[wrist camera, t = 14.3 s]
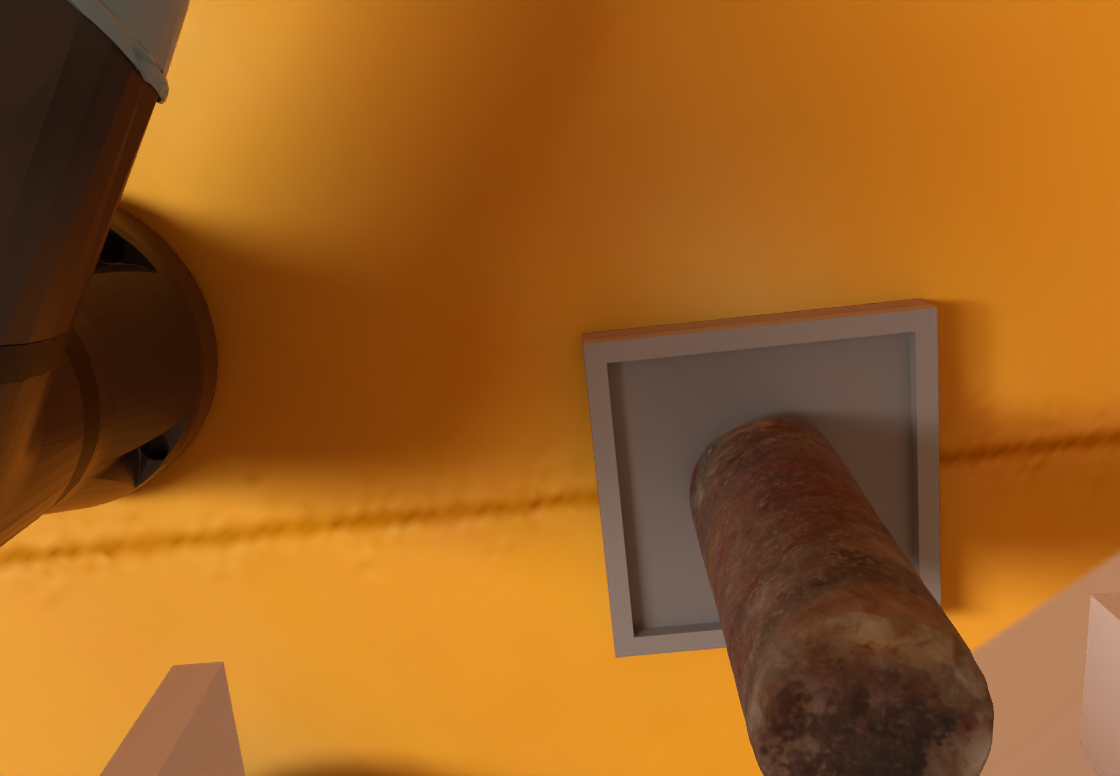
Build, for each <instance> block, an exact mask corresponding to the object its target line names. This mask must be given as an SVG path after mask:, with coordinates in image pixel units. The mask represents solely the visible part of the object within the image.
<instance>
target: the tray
mask: <svg viewBox="0 0 1120 776" xmlns="http://www.w3.org/2000/svg"><path fill="white" fill-rule="evenodd" d="M582 341H583V352H584V362H585V371H586V381H587V390H588V400H589V409H590V419H591V428H592V438H593V447H594V457H595V466H596V476H597V485H598V495H599V504H600V514H601V523H602V533H603V542H604V552H605V561H606V571H607V580H608V590H609V599H610V609H611V618H612V628H613V637H614V647H615V656H616V657H626V656H637V655H648V654H659V653H670V652H681V651H692V650H703V649H714V648H725V647H726V643H725V639H724V635H723V631H722V627H721V624H720V619H719V615H718V611H717V608H716V604H715V601H714V596H713V592H712V589H711V586H710V582H709V579H708V575H707V571H706V567H705V563H704V560H703V557H702V553H701V550H700V546H699V542H698V538H697V533H696V529H695V525H694V522H693V517H692V512H691V509H690V491H689V489H690V483H691V476H692V472H693V470H694V467H695V464H696V462H697V461H698V459H699V457H700V455H701V453H702V451H703V450H704V449H705V448H706V447H707V446H708V444H709V443H710V442H712V441H713V440H714V439H715V438H717V437H718V436H721V435H723V434H724V433H725V432H727V431H729V430H730V429H732V428H734V427H737V426H739V425H742V424H745V423H749V422H752V421H754V420H757V419H760V418H765V417H788V418H793V419H796V420H798V421H800V422H803V423H805V424H808V425H810V426H812V427H814V428H815V429H816V430H817V431H818V432H820V433H821V434H822V435H823V436H824V437H825V438H826V439H827V441H828V442H829V443H830V444H831V445H832V447H833V448H834V449H835V451H836V452H837V454H838V455H839V457H840V458H841V459H842V461H843V462H844V464H845V465H846V467H847V468H848V470H849V471H850V473H851V474H852V476H853V477H854V479H855V480H856V482H857V483H858V485H859V487H860V488H861V490H862V491H863V493H864V495H865V496H866V498H867V499H868V501H869V502H870V504H871V505H872V507H873V508H874V510H875V512H876V513H877V515H878V517H879V518H880V520H881V521H882V522H883V524H884V525H885V526H886V528H887V529H888V530H889V532H890V533H891V535H892V536H893V538H894V539H895V541H896V543H897V544H898V546H899V547H900V549H901V550H902V551H903V552H904V554H905V555H906V557H907V558H908V559H909V561H910V562H911V564H912V565H913V567H914V569H915V570H916V572H917V573H918V575H919V576H920V578H921V579H922V581H923V583H924V584H925V586H926V587H927V588H928V590H929V591H930V593H931V594H932V595H933V597H934V598H935V600H936V601H937V602H938V604H939V605H940V606H941V570H940V480H939V391H938V308H937V307H936V306H934V305H932V304H930V303H928V302H926V301H924V300H922V299H912V300H902V301H892V302H883V303H873V304H863V305H854V306H844V307H835V308H825V309H815V310H806V311H796V312H786V313H777V314H767V315H757V316H748V317H738V318H728V319H719V320H709V321H699V322H690V323H680V324H671V325H661V326H651V327H642V328H632V329H622V330H613V331H603V332H593V333H584V334H582Z"/></svg>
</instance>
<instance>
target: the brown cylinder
mask: <svg viewBox="0 0 1120 776" xmlns="http://www.w3.org/2000/svg"><path fill="white" fill-rule="evenodd" d="M689 491H690V509H691V512H692V517H693V522H694V525H695V529H696V533H697V538H698V542H699V546H700V550H701V553H702V557H703V560H704V563H705V567H706V571H707V575H708V579H709V582H710V586H711V589H712V592H713V596H714V601H715V604H716V608H717V611H718V615H719V619H720V624H721V627H722V631H723V635H724V639H725V643H726V647H727V651H728V656H729V660H730V663H731V667H732V670H733V674H734V678H735V682H736V686H737V690H738V695H739V699H740V703H741V706H742V710H743V714H744V717H745V721H746V726H747V731H748V735H749V740H750V743H751V745H752V748H753V751H754V754H755V757H756V760H757V762H758V765H759V767H760V770H761V771H762V773H763V775H764V776H979V775H980V773H981V771H982V769H983V767H984V765H985V763H986V761H987V758H988V756H989V753H990V749H991V745H992V733H993V719H994V710H993V703H992V700H991V697H990V694H989V691H988V686H987V682H986V680H985V677H984V675H983V674H982V672H981V670H980V669H979V667H978V665H977V664H976V662H975V660H974V658H973V656H972V654H971V651H970V649H969V648H968V646H967V645H966V643H965V642H964V640H963V639H962V637H961V636H960V634H959V633H958V631H957V630H956V628H955V627H954V626H953V624H952V623H951V621H950V620H949V619H948V617H947V616H946V614H945V613H944V611H943V609H942V608H941V606H940V605H939V604H938V602H937V601H936V600H935V598H934V597H933V595H932V594H931V593H930V591H929V590H928V588H927V587H926V586H925V584H924V583H923V581H922V579H921V578H920V576H919V575H918V573H917V572H916V570H915V569H914V567H913V565H912V564H911V562H910V561H909V559H908V558H907V557H906V555H905V554H904V552H903V551H902V550H901V549H900V547H899V546H898V544H897V543H896V541H895V539H894V538H893V536H892V535H891V533H890V532H889V530H888V529H887V528H886V526H885V525H884V524H883V522H882V521H881V520H880V518H879V517H878V515H877V513H876V512H875V510H874V508H873V507H872V505H871V504H870V502H869V501H868V499H867V498H866V496H865V495H864V493H863V491H862V490H861V488H860V487H859V485H858V483H857V482H856V480H855V479H854V477H853V476H852V474H851V473H850V471H849V470H848V468H847V467H846V465H845V464H844V462H843V461H842V459H841V458H840V457H839V455H838V454H837V452H836V451H835V449H834V448H833V447H832V445H831V444H830V443H829V442H828V441H827V439H826V438H825V437H824V436H823V435H822V434H821V433H820V432H818V431H817V430H816V429H815V428H814V427H812V426H810V425H808V424H805V423H803V422H800V421H798V420H796V419H793V418H788V417H765V418H760V419H757V420H754V421H752V422H749V423H745V424H742V425H739V426H737V427H734V428H732V429H730V430H729V431H727V432H725V433H724V434H723V435H721V436H718V437H717V438H715V439H714V440H713V441H712V442H710V443H709V444H708V446H707V447H706V448H705V449H704V450H703V451H702V453H701V455H700V457H699V459H698V461H697V462H696V464H695V467H694V470H693V472H692V476H691V483H690V489H689Z"/></svg>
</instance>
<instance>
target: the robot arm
mask: <svg viewBox="0 0 1120 776" xmlns="http://www.w3.org/2000/svg"><path fill="white" fill-rule="evenodd" d="M188 5H189V0H0V547H1V546H3V545H4V544H5V543H7V542H8V541H9V540H11V539H12V538H13V537H14V536H16V535H17V534H18V533H20V532H21V531H22V530H24V529H25V528H26V527H27V526H29V525H30V524H31V523H33V522H34V521H35V520H37V519H38V518H39V517H40V516H41V515H44V514H50V513H57V512H63V511H70V510H77V509H83V508H89V507H93V506H98V505H101V504H105V503H108V502H110V501H113V500H116V499H118V498H121V497H123V496H125V495H127V494H129V493H131V492H133V491H135V490H137V489H138V488H140V487H142V486H143V485H145V484H146V483H148V482H149V481H151V480H152V479H153V478H154V477H156V476H157V475H158V474H159V473H160V472H162V471H163V470H164V469H165V468H166V467H167V466H169V465H170V464H171V463H172V462H173V461H174V460H175V459H176V458H178V457H179V456H180V455H181V454H182V453H183V451H184V450H185V449H186V448H187V447H188V446H189V444H190V443H191V442H192V440H193V439H194V438H195V436H196V434H197V433H198V431H199V429H200V428H201V426H202V424H203V422H204V420H205V418H206V415H207V413H208V410H209V408H210V404H211V401H212V398H213V394H214V389H215V383H216V375H217V349H216V340H215V334H214V329H213V325H212V321H211V317H210V314H209V311H208V308H207V306H206V303H205V301H204V298H203V296H202V294H201V292H200V290H199V288H198V286H197V284H196V282H195V280H194V279H193V277H192V275H191V274H190V272H189V271H188V269H187V268H186V266H185V265H184V263H183V262H182V261H181V260H180V258H179V257H178V256H177V254H176V253H175V252H174V251H173V250H172V249H171V248H170V247H169V245H168V244H167V243H166V242H165V241H164V240H162V239H161V238H160V237H159V236H158V235H157V234H156V233H155V232H154V231H152V230H151V229H150V228H149V227H148V226H146V225H145V224H144V223H142V222H141V221H140V220H138V219H136V218H135V217H133V216H132V215H130V214H129V213H127V212H125V211H123V210H122V209H120V208H118V205H119V202H120V199H121V197H122V194H123V191H124V188H125V186H126V183H127V180H128V177H129V175H130V172H131V169H132V166H133V164H134V161H135V158H136V156H137V153H138V150H139V147H140V145H141V142H142V139H143V136H144V134H145V131H146V128H147V125H148V123H149V120H150V117H151V115H152V112H153V109H154V106H155V104H156V102H157V103H160V104H163V103H164V102H165V101H166V99H167V96H168V91H169V87H168V82H167V79H166V76H167V73H168V70H169V67H170V63H171V60H172V57H173V54H174V51H175V48H176V44H177V41H178V38H179V35H180V32H181V29H182V26H183V22H184V19H185V16H186V13H187V10H188ZM1080 754H1081V755H1082V756H1083V757H1084V759H1085V760H1086V761H1087V762H1088V763H1089V765H1090V766H1091V767H1092V768H1093V769H1094V771H1095V772H1096V773H1097V774H1098V776H1120V593H1108V594H1094V595H1091V600H1090V614H1089V628H1088V643H1087V655H1086V669H1085V683H1084V697H1083V711H1082V724H1081V738H1080ZM100 776H245V772H244V767H243V761H242V756H241V751H240V746H239V741H238V736H237V730H236V725H235V720H234V715H233V710H232V704H231V699H230V694H229V689H228V684H227V679H226V673H225V668H224V663H223V662H213V663H200V664H187V665H174V666H172V668H171V669H170V671H169V672H168V674H167V675H166V677H165V678H164V680H163V681H162V683H161V685H160V686H159V688H158V689H157V691H156V692H155V694H154V695H153V697H152V698H151V700H150V701H149V703H148V704H147V706H146V707H145V709H144V710H143V712H142V713H141V715H140V716H139V718H138V719H137V721H136V722H135V724H134V725H133V727H132V728H131V730H130V731H129V733H128V734H127V736H126V737H125V739H124V740H123V742H122V743H121V745H120V746H119V748H118V749H117V751H116V752H115V754H114V755H113V757H112V758H111V760H110V761H109V763H108V764H107V766H106V767H105V769H104V770H103V772H102V773H101V775H100Z"/></svg>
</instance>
